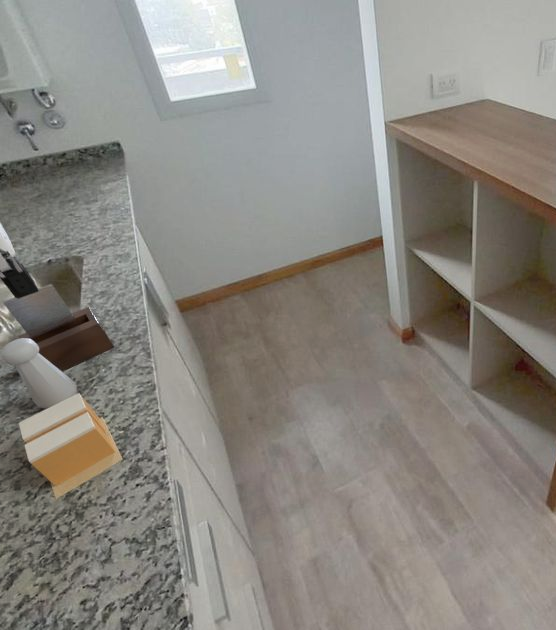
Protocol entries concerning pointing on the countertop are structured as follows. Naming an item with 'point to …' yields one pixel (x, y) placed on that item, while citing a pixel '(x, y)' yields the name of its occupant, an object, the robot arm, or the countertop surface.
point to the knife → (39, 310)
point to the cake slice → (69, 449)
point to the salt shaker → (38, 373)
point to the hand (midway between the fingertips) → (25, 290)
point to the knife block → (73, 341)
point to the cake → (59, 417)
